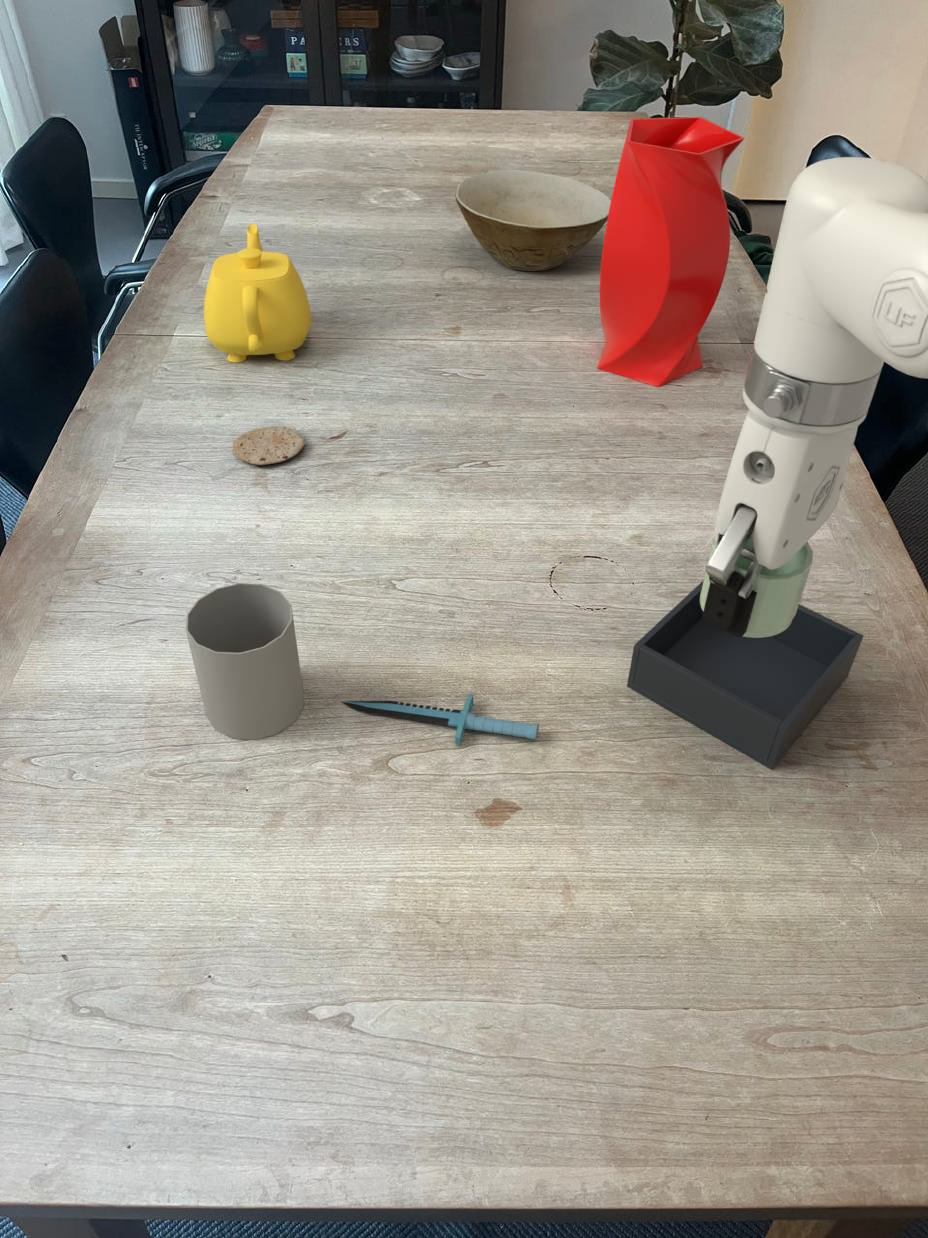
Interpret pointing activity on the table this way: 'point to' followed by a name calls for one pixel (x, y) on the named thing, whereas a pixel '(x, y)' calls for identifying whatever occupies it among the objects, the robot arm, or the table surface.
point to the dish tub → (743, 676)
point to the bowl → (531, 216)
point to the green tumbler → (771, 591)
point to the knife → (447, 717)
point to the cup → (246, 660)
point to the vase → (664, 247)
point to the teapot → (256, 303)
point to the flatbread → (268, 445)
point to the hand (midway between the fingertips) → (749, 598)
